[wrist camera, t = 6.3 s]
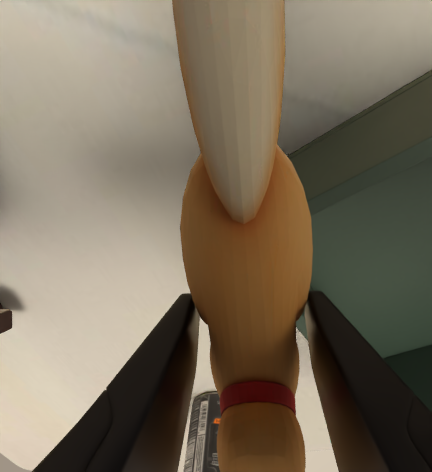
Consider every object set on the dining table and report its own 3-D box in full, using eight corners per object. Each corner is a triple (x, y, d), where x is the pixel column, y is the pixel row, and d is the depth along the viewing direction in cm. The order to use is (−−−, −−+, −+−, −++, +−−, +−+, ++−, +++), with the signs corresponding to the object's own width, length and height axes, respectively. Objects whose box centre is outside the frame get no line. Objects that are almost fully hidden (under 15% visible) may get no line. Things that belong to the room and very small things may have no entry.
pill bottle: (255, 406, 35) (259, 546, 26) (218, 421, 38) (210, 552, 28) (218, 384, 33) (208, 528, 23) (181, 401, 35) (160, 536, 26)
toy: (223, 411, 15) (221, 557, 11) (122, -86, 5) (-282, -466, 1) (293, 410, 15) (316, 561, 11) (325, -122, 5) (826, -855, 1)
